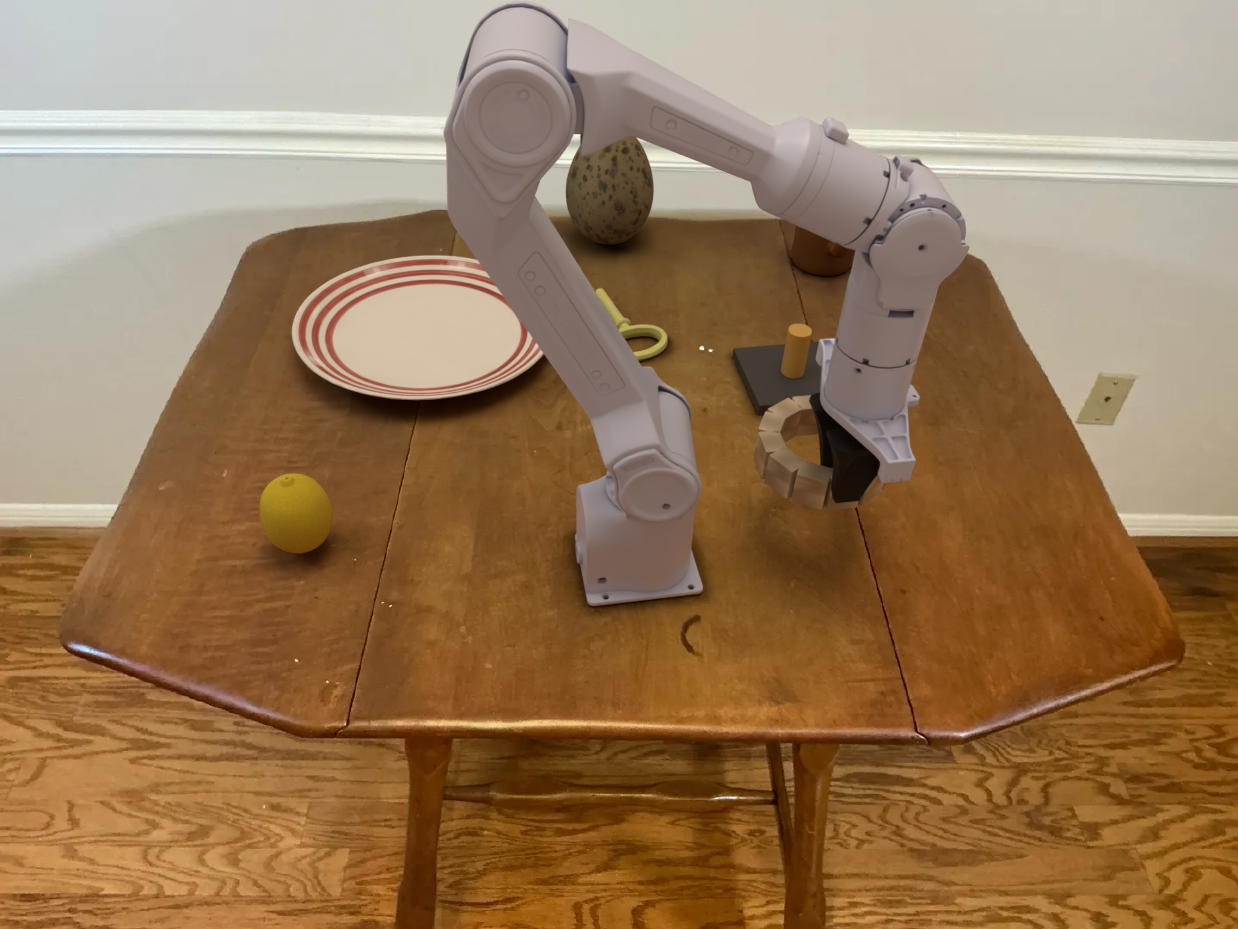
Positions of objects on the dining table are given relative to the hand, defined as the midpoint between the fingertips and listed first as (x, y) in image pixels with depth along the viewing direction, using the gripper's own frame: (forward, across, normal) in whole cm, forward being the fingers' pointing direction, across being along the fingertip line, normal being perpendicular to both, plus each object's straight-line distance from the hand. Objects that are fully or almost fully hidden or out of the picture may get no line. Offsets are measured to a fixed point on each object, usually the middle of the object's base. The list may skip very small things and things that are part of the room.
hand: (840, 488), depth 74 cm
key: (+9, +36, +11) cm, 39 cm away
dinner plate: (+9, +37, +32) cm, 50 cm away
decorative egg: (+9, +57, +10) cm, 58 cm away
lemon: (+9, +8, +43) cm, 44 cm away
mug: (+9, +46, -16) cm, 50 cm away
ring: (+1, +4, 0) cm, 5 cm away
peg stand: (+9, +25, -5) cm, 27 cm away
